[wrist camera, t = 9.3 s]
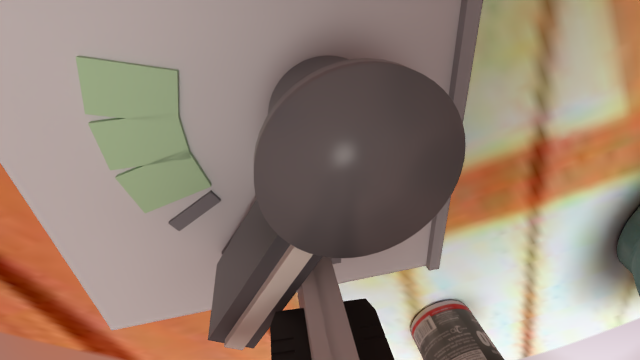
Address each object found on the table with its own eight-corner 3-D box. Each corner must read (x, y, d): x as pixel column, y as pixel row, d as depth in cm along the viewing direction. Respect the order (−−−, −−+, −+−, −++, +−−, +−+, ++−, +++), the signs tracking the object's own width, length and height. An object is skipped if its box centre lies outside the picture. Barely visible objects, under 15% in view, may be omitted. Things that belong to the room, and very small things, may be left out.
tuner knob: (300, 2, 11) (334, 7, 6) (422, 88, 13) (506, 134, 9) (175, 242, 14) (145, 345, 10) (287, 275, 17) (300, 371, 13)
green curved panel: (61, 57, 10) (57, 58, 10) (327, 29, 11) (328, 30, 11) (171, 293, 16) (170, 297, 16) (340, 260, 17) (341, 263, 17)
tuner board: (-140, -128, 9) (-229, -156, 7) (472, -149, 11) (511, -173, 9) (121, 306, 18) (109, 337, 16) (423, 246, 20) (438, 268, 19)
